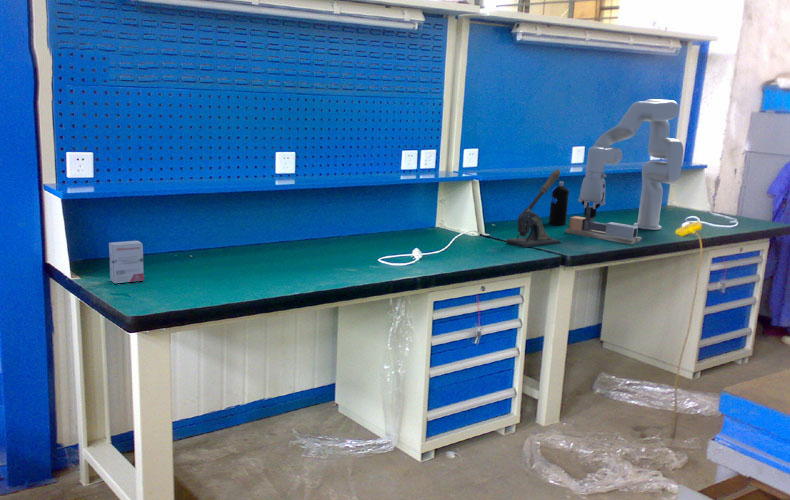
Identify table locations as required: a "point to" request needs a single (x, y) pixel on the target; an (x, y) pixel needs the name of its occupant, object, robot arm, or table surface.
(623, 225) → the pale blue rectangular box
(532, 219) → the embossing press
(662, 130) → the robot arm
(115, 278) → the ink box
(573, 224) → the socket
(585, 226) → the grey bar
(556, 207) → the aerosol can
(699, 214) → the table surface
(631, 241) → the base board
